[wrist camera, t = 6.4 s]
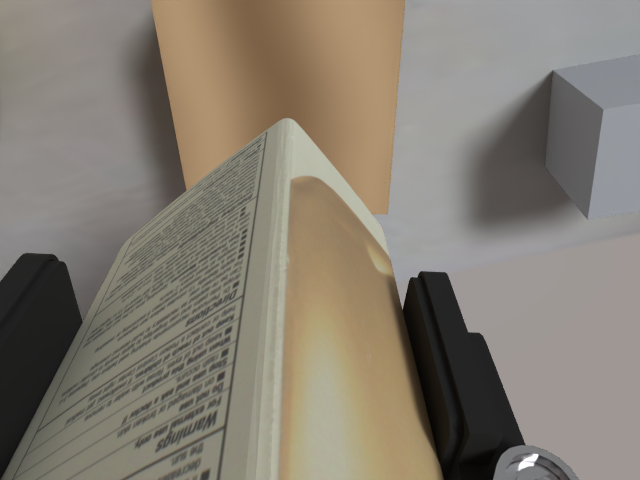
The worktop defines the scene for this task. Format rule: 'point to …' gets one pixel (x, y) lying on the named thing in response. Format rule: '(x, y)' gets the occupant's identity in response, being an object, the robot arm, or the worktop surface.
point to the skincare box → (242, 341)
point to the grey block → (597, 135)
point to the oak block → (285, 80)
